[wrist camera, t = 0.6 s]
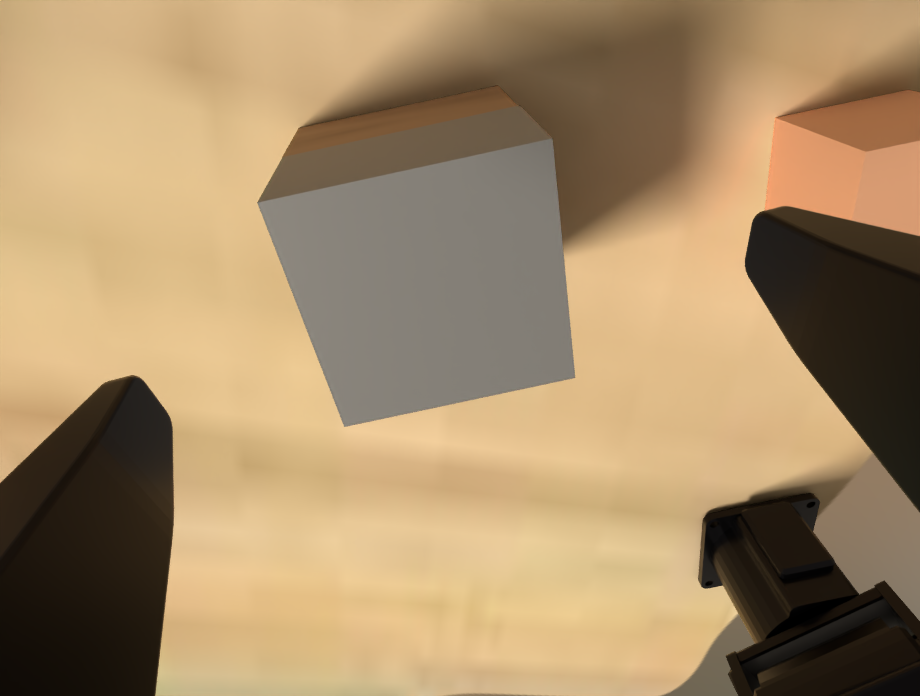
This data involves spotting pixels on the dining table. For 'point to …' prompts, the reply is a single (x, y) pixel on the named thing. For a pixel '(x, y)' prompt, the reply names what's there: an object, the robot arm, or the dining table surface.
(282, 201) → the tower top
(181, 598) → the dining table surface
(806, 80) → the dining table surface
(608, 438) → the dining table surface
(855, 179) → the terracotta cube
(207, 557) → the dining table surface
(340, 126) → the tower base
